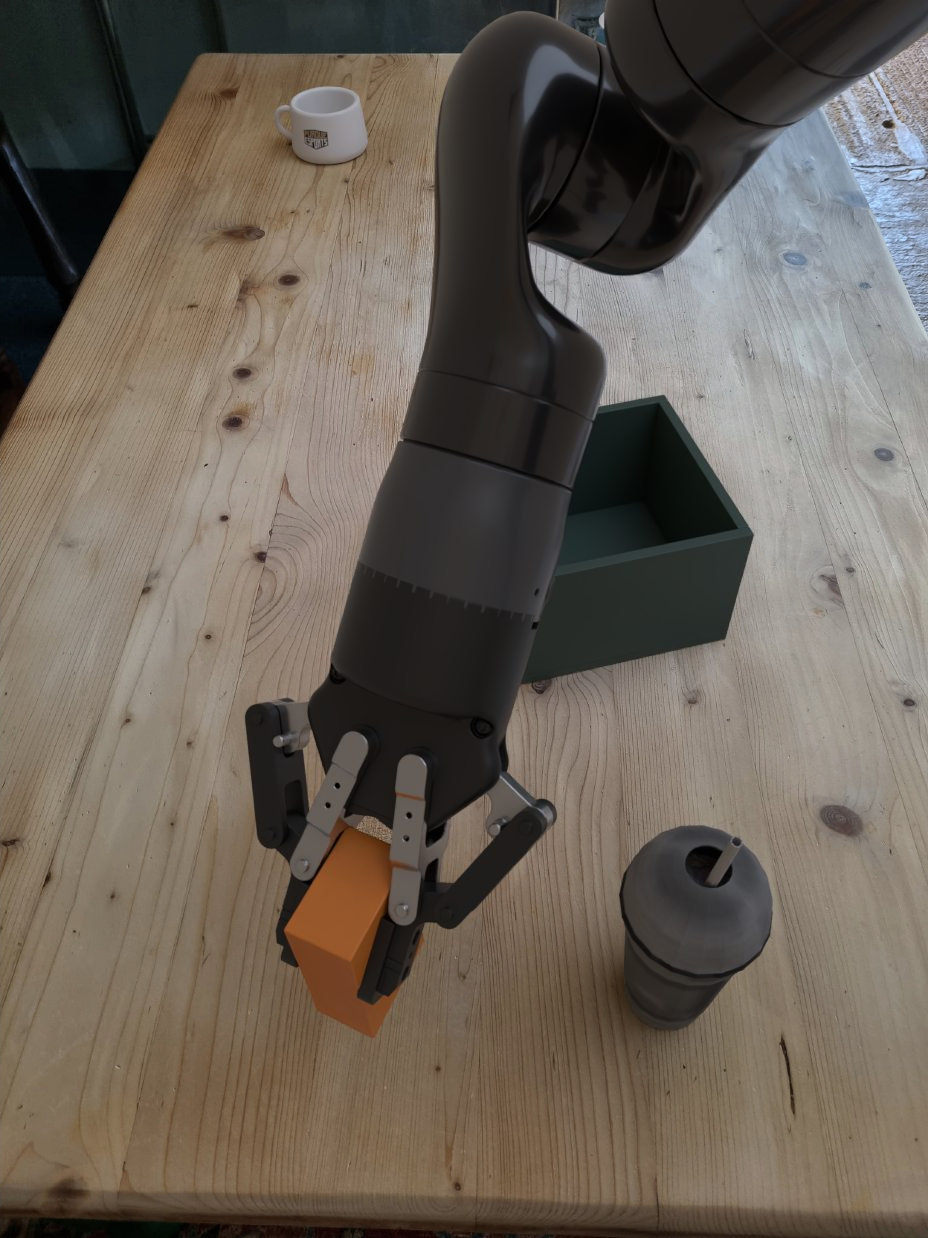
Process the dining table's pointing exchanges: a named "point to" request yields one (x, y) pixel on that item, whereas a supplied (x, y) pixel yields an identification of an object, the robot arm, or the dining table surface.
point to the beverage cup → (690, 921)
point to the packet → (344, 929)
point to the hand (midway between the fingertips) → (336, 975)
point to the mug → (325, 125)
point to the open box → (641, 548)
